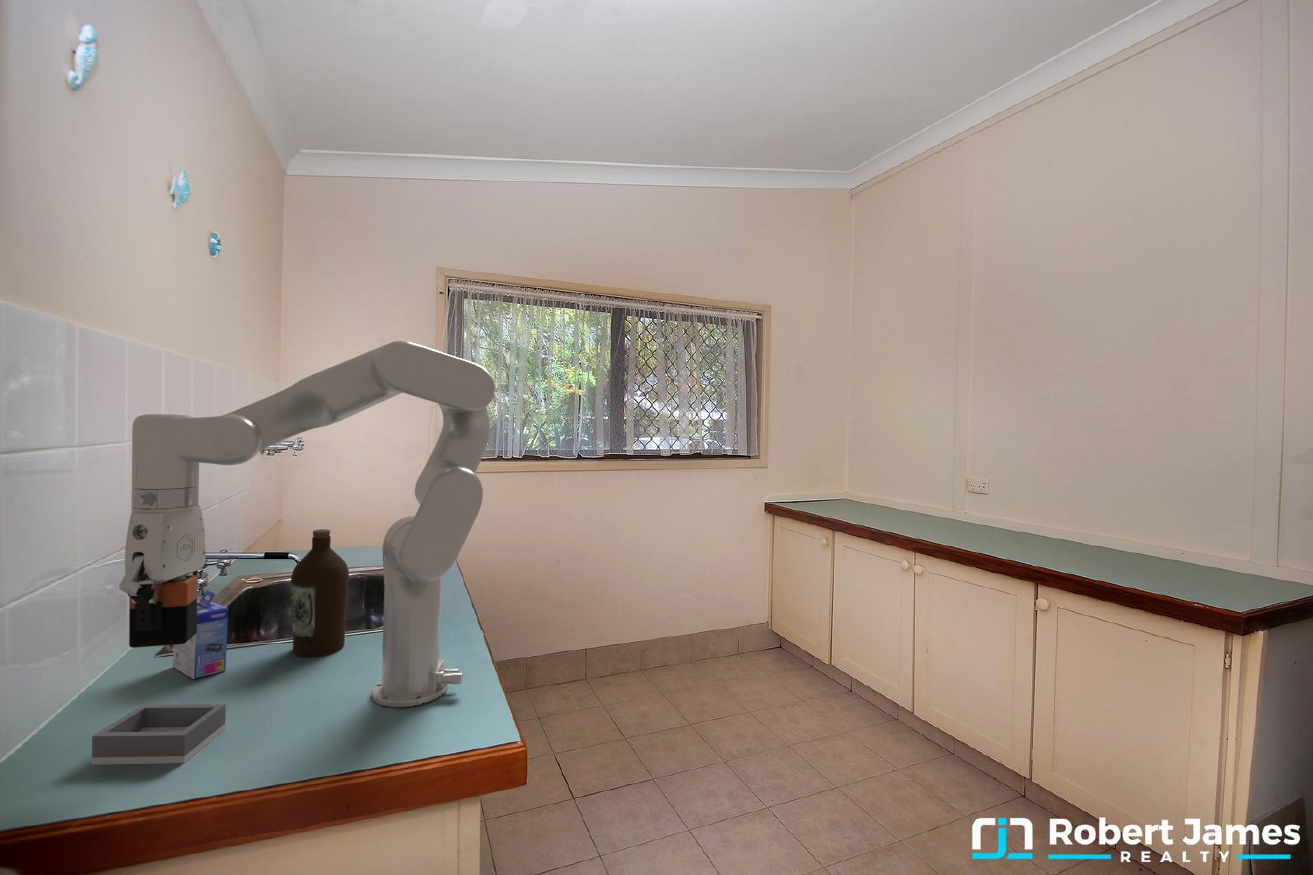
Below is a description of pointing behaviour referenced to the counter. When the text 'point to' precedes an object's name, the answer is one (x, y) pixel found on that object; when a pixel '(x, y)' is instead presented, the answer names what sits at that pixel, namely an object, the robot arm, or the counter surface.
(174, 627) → the battery
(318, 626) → the olive oil
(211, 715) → the charging cradle
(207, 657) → the ink cartridge box
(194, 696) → the counter surface
